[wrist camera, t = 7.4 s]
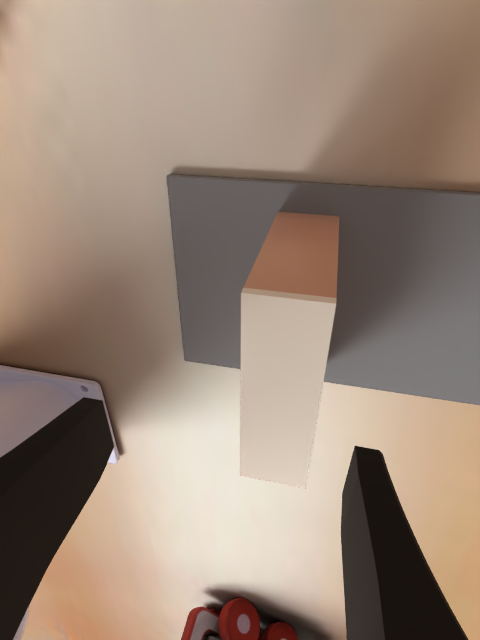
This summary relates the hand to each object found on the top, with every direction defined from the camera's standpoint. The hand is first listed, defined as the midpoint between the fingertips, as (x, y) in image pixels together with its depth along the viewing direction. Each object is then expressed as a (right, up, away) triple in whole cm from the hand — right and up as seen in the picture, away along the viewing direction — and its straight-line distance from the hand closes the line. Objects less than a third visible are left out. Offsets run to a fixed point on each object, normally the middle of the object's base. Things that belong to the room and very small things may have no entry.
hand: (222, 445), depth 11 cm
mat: (+6, +5, +7) cm, 10 cm away
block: (+3, +5, +7) cm, 9 cm away
